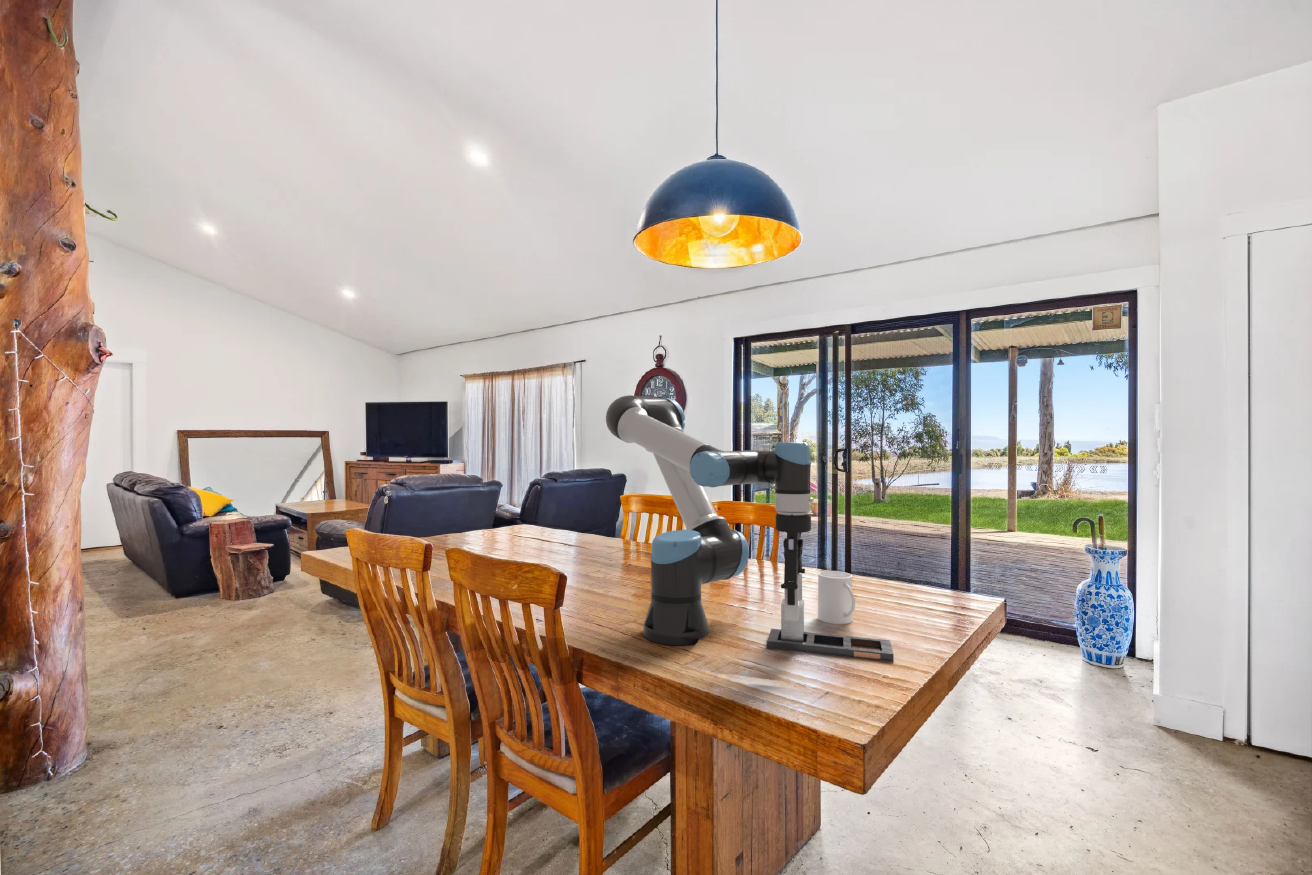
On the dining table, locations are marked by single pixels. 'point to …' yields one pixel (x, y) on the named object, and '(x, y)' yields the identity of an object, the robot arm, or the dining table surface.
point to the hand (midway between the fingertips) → (793, 611)
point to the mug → (835, 597)
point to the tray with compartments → (835, 645)
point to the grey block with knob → (793, 624)
